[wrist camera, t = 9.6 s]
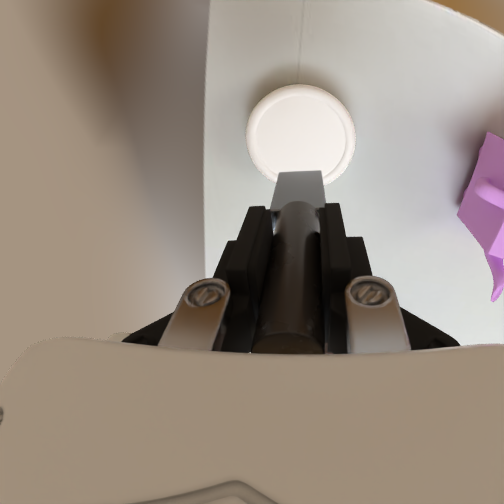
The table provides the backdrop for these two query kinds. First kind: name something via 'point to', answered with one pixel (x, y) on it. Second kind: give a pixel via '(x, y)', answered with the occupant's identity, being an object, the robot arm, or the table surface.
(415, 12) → the table surface
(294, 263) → the grey handled tool
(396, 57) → the table surface
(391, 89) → the table surface
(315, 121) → the white round stack
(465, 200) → the teapot
